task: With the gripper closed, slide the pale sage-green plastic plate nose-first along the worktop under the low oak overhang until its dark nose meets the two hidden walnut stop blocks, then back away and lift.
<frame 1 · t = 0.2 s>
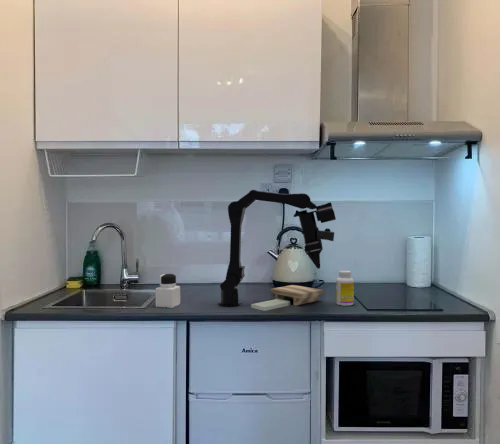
hand: (318, 266, 181), 15 cm above the countertop, tool pointing down, fingers open, 9 cm apart
supplement bottle: (344, 304, 187), on the countertop
medicine bottle: (168, 306, 185), on the countertop
overhang: (292, 301, 192), on the countertop
sage plate: (270, 307, 183), on the countertop
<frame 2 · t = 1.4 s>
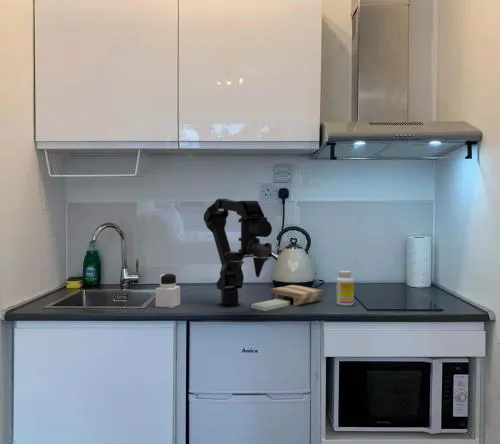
hand: (248, 278, 175), 12 cm above the countertop, tool pointing down, fingers open, 9 cm apart
nothing on the countertop moved.
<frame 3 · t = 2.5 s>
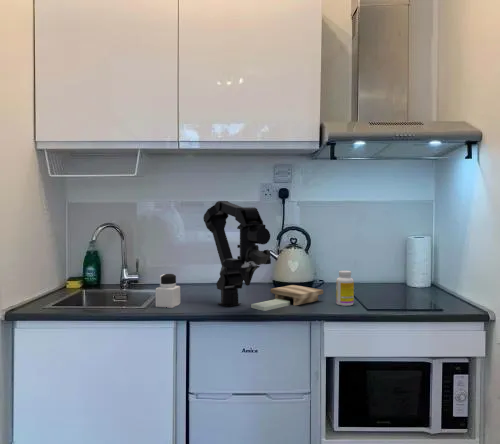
hand: (247, 285, 175), 9 cm above the countertop, tool pointing down, fingers closed
nothing on the countertop moved.
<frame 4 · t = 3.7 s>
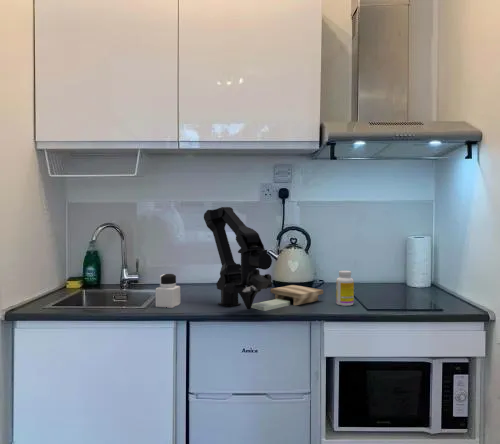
hand: (248, 309, 175), 1 cm above the countertop, tool pointing down, fingers closed
nothing on the countertop moved.
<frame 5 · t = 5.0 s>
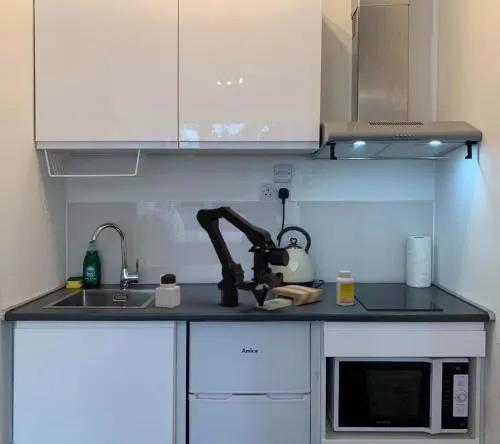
hand: (261, 306, 180), 1 cm above the countertop, tool pointing down, fingers closed
sage plate: (275, 305, 185), on the countertop
everything else where it was.
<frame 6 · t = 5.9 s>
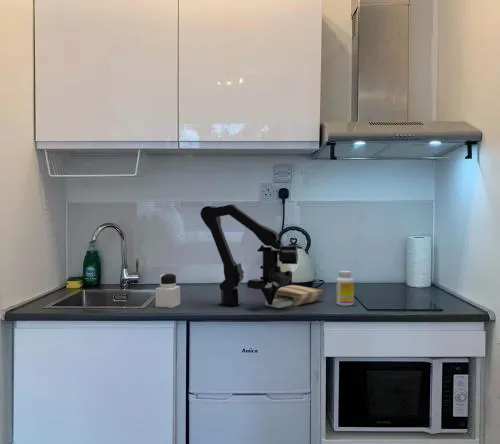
hand: (270, 304, 183), 1 cm above the countertop, tool pointing down, fingers closed
sage plate: (284, 304, 188), on the countertop, touching gripper
everything else where it was.
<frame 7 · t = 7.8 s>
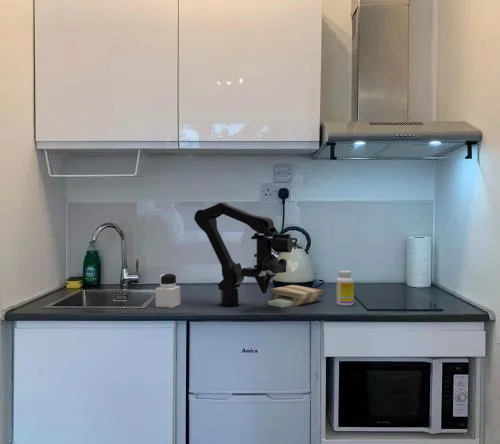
hand: (264, 293, 180), 6 cm above the countertop, tool pointing down, fingers closed
sage plate: (287, 303, 189), on the countertop
everything else where it was.
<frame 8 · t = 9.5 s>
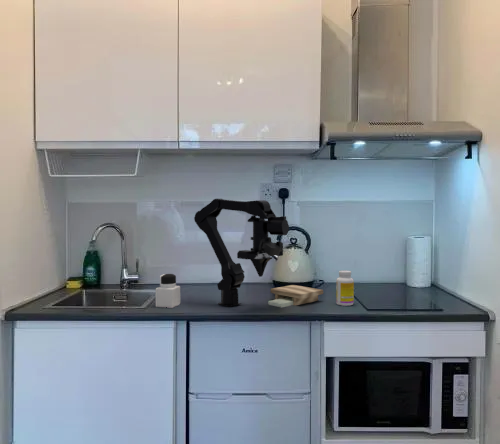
hand: (260, 276, 179), 12 cm above the countertop, tool pointing down, fingers closed
nothing on the countertop moved.
at the end: sage plate 0.5 cm from the target spot on the overhang, point 0.0 cm above the overhang's base; sage plate tilted 0°; the gripper is holding nothing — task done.
